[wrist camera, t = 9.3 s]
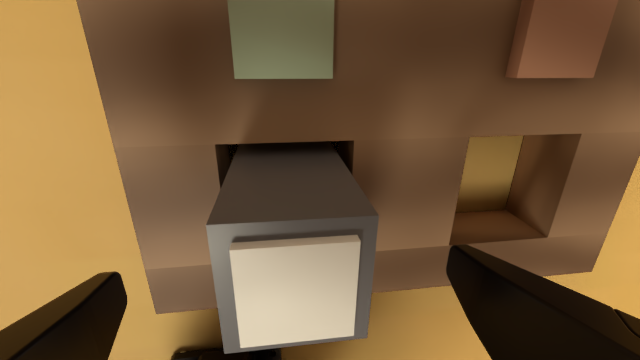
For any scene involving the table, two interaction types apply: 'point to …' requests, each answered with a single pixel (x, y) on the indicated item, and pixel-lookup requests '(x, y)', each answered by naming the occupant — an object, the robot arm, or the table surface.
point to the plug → (291, 248)
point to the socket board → (374, 120)
